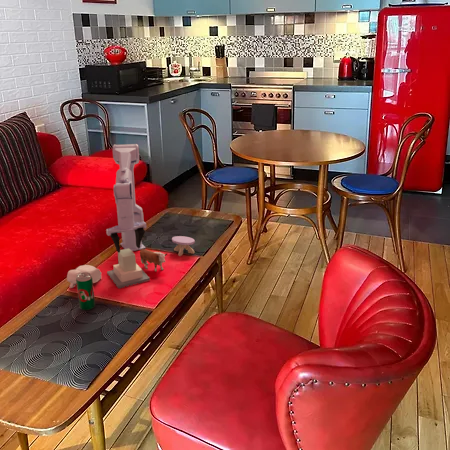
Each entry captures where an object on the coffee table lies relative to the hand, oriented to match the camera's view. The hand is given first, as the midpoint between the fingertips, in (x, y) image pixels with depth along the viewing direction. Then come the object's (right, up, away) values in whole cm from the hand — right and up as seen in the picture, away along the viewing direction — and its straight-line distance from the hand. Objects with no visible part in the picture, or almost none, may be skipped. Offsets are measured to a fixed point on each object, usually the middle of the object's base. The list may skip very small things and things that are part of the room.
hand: (128, 249), depth 185 cm
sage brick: (0, -7, 0) cm, 7 cm away
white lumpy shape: (-15, -13, -5) cm, 21 cm away
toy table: (+19, -2, +22) cm, 29 cm away
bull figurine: (+9, -8, +8) cm, 14 cm away
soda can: (-10, -19, -18) cm, 28 cm away
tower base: (0, -11, +1) cm, 11 cm away
